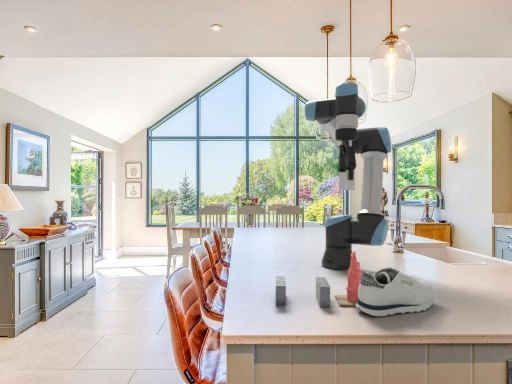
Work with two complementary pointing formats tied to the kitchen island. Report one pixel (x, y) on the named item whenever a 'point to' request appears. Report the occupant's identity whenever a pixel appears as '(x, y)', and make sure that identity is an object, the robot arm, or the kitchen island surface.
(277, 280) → the grey blocks
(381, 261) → the kitchen island surface
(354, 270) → the figurine
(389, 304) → the running shoe
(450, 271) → the kitchen island surface
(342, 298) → the pad
